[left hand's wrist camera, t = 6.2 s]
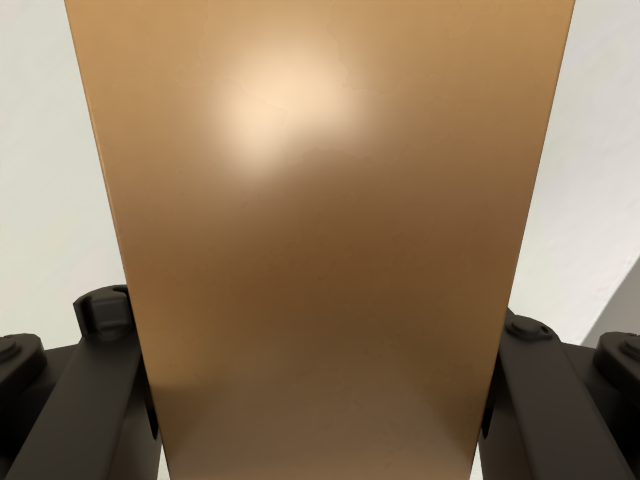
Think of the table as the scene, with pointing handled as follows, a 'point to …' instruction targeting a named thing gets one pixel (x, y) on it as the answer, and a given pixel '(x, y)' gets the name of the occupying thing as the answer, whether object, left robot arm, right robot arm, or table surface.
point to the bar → (319, 219)
